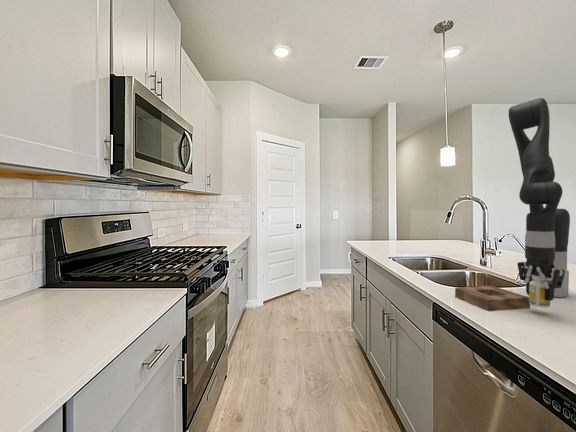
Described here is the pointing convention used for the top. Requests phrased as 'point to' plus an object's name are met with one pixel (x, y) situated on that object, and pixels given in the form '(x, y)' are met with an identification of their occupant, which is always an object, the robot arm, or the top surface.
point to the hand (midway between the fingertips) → (539, 297)
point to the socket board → (492, 298)
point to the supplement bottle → (537, 292)
